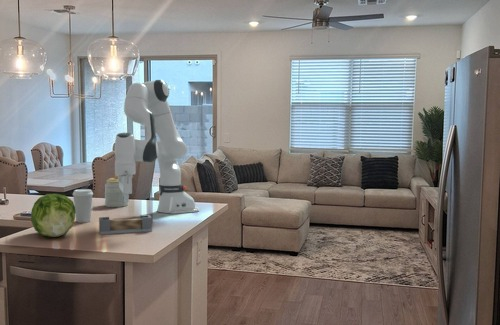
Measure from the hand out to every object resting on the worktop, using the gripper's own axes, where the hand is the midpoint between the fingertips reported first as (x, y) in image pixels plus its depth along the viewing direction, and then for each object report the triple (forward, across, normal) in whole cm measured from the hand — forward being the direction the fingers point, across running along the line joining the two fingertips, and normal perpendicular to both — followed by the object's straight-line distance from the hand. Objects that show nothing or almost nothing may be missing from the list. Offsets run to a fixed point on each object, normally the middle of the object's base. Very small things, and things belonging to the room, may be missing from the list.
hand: (125, 201), depth 221 cm
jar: (+13, +68, -2) cm, 69 cm away
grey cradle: (+13, 0, 0) cm, 13 cm away
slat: (+12, 0, 0) cm, 12 cm away
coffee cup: (+13, +27, +17) cm, 35 cm away
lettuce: (+13, 0, +29) cm, 32 cm away
